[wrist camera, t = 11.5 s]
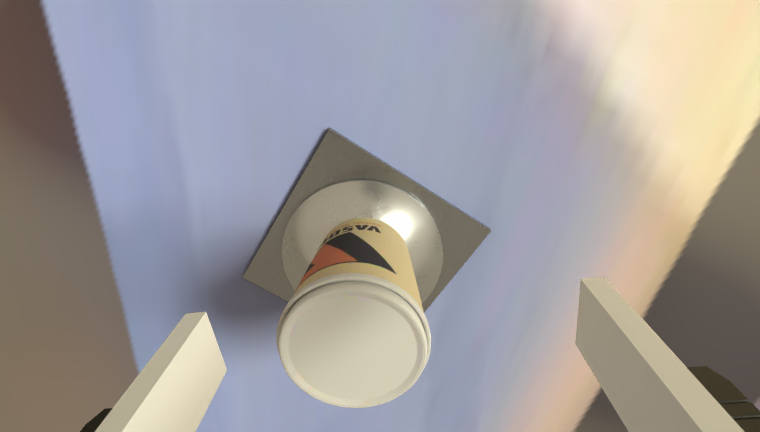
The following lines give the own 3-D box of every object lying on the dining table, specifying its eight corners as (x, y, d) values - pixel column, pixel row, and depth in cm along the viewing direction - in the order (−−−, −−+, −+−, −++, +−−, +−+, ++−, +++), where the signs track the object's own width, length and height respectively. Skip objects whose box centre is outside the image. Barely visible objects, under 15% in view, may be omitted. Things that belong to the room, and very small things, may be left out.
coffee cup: (388, 188, 32) (387, 257, 21) (435, 278, 35) (457, 381, 24) (290, 235, 34) (241, 322, 23) (343, 317, 37) (323, 430, 26)
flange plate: (329, 127, 32) (327, 130, 31) (489, 228, 35) (493, 234, 33) (244, 274, 37) (239, 281, 36) (389, 351, 40) (389, 360, 39)
